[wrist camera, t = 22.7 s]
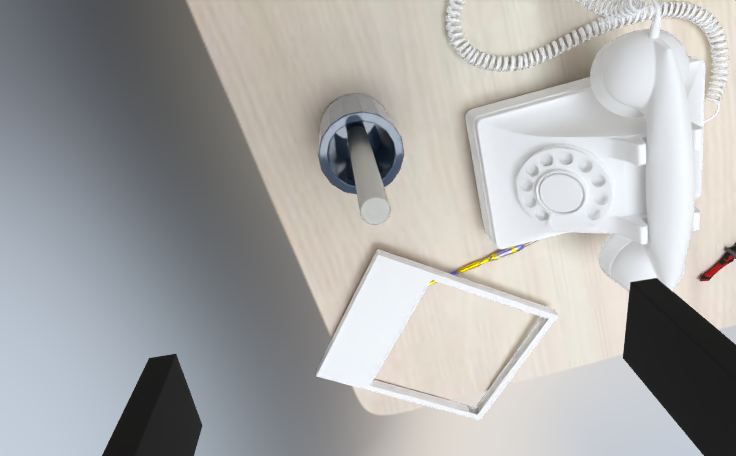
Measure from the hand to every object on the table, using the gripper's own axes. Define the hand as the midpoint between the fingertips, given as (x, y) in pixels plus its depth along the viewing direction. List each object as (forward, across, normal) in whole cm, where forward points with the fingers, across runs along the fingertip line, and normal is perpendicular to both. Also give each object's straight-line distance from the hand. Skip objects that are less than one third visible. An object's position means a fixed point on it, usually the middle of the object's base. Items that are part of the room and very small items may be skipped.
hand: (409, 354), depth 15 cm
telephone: (+28, +19, -1) cm, 34 cm away
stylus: (+27, 0, 0) cm, 27 cm away
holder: (+28, 0, 0) cm, 28 cm away
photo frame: (+27, -4, -16) cm, 31 cm away
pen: (+27, +9, -13) cm, 31 cm away
